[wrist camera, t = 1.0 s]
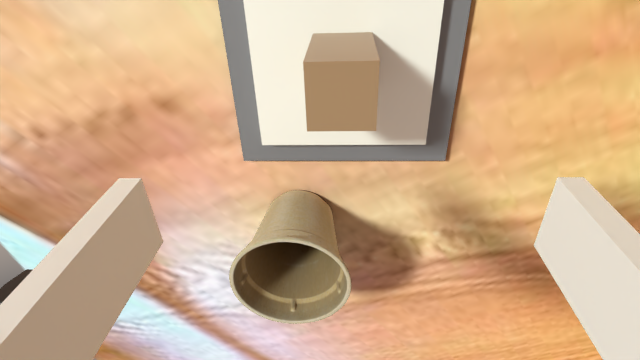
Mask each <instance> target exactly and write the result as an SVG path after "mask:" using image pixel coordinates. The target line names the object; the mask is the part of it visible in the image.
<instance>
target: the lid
mask: <svg viewBox="0 0 640 360" xmlns="http://www.w3.org/2000/svg"><path fill="white" fill-rule="evenodd" d="M243 2H244V10H245V18H246V25H247V33H248V41H249V49H250V56H251V64H252V72H253V79H254V87H255V95H256V103H257V110H258V118H259V126H260V133H261V141H262V145H426V138H427V130H428V122H429V114H430V107H431V99H432V91H433V83H434V75H435V68H436V60H437V52H438V44H439V37H440V29H441V21H442V13H443V6H444V0H243Z"/></svg>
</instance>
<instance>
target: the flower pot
mask: <svg viewBox="0 0 640 360" xmlns="http://www.w3.org/2000/svg"><path fill="white" fill-rule="evenodd" d="M229 280H230V285H231V288H232V290H233V292H234V294H235V296H236V297H237V298H238V300H239V301H240V302H241V303H242V304H243V305H244V306H245V307H247V308H248V309H249V310H251V311H252V312H254V313H255V314H257V315H259V316H262V317H264V318H266V319H269V320H272V321H277V322H282V323H289V324H294V323H295V324H297V323H310V322H315V321H319V320H322V319H325V318H326V317H329V316H331V315H333V314H334V313H335V312H337V311H338V310H339V309H340V308H341V307H342V306H343V305H344V304H345V303H346V301H347V299H348V297H349V295H350V292H351V278H350V274H349V271H348V269H347V267H346V265H345V264H344V262H343V260H342V258H341V256H340V254H339V250H338V244H337V239H336V233H335V227H334V221H333V214H332V210H331V208H330V206H329V205H328V204H327V203H326V202H325V201H324V200H322V199H321V198H320V197H319V196H318V195H316V194H314V193H311V192H308V191H302V190H295V191H289V192H285V193H283V194H282V195H280V196H279V197H278V198H276V199H275V200H274V201H273V202H272V203H271V204H270V206H269V209H268V211H267V212H266V214H265V216H264V218H263V220H262V222H261V224H260V226H259V228H258V230H257V232H256V234H255V236H254V238H253V240H252V241H251V242H250V243H249V244H248V245H247V246H246V248H244V249H243V250H242V251H241V252H240V253H239V254H238V255H237V256H236V258H235V259H234V261H233V263H232V265H231V268H230V274H229Z"/></svg>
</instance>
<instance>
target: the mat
mask: <svg viewBox="0 0 640 360" xmlns="http://www.w3.org/2000/svg"><path fill="white" fill-rule="evenodd" d="M218 4H219V10H220V16H221V22H222V28H223V34H224V41H225V47H226V53H227V59H228V65H229V71H230V78H231V84H232V90H233V96H234V102H235V108H236V115H237V121H238V127H239V133H240V139H241V145H242V152H243V158H244V161H445V159H446V152H447V146H448V140H449V134H450V128H451V122H452V116H453V110H454V104H455V97H456V91H457V85H458V79H459V73H460V67H461V61H462V55H463V49H464V43H465V36H466V30H467V24H468V18H469V12H470V6H471V0H444V6H443V13H442V21H441V29H440V37H439V44H438V52H437V60H436V68H435V75H434V83H433V91H432V99H431V107H430V114H429V122H428V130H427V138H426V145H262V141H261V133H260V126H259V118H258V110H257V103H256V95H255V87H254V79H253V72H252V64H251V56H250V49H249V41H248V33H247V25H246V18H245V10H244V2H243V0H218Z"/></svg>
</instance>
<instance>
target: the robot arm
mask: <svg viewBox="0 0 640 360" xmlns="http://www.w3.org/2000/svg"><path fill="white" fill-rule="evenodd" d="M162 243H163V239H162V236H161V234H160V231H159V228H158V225H157V222H156V219H155V216H154V213H153V210H152V207H151V204H150V202H149V199H148V196H147V193H146V190H145V187H144V184H143V181H142V178H119V179H118V180H117V181H116V182H115V183H114V184H113V185H112V186H111V187H110V188H109V190H108V191H107V192H106V193H105V194H104V195H103V196H102V197H101V198H100V199H99V200H98V201H97V202H96V203H95V204H94V205H93V207H92V208H91V209H90V210H89V211H88V212H87V213H86V214H85V215H84V216H83V217H82V218H81V219H80V220H79V221H78V222H77V224H76V225H75V226H74V227H73V228H72V229H71V230H70V231H69V232H68V233H67V234H66V235H65V236H64V237H63V238H62V240H61V241H60V242H59V243H58V244H57V245H56V246H55V247H54V248H53V249H52V250H51V251H50V252H49V253H48V254H47V255H46V257H45V258H44V259H43V260H42V261H41V262H40V263H39V264H38V265H37V266H36V267H35V268H34V269H33V270H28V269H27V270H25V271H24V272H22V273H21V274H19V275H18V276H17V277H15V278H13V279H12V280H10V281H9V282H8V283H6V284H5V285H4V286H3V287H2V288H1V289H0V360H93V358H94V356H95V355H96V353H97V351H98V350H99V348H100V346H101V345H102V343H103V341H104V340H105V338H106V336H107V335H108V333H109V331H110V330H111V328H112V326H113V325H114V323H115V321H116V320H117V318H118V316H119V315H120V313H121V311H122V310H123V308H124V306H125V305H126V303H127V301H128V300H129V298H130V296H131V295H132V293H133V291H134V290H135V288H136V286H137V285H138V283H139V281H140V280H141V278H142V276H143V275H144V273H145V271H146V270H147V268H148V266H149V265H150V263H151V261H152V260H153V258H154V256H155V255H156V253H157V251H158V250H159V248H160V246H161V245H162ZM534 247H535V248H536V250H537V252H538V253H539V255H540V257H541V258H542V260H543V261H544V263H545V265H546V266H547V268H548V270H549V271H550V273H551V275H552V276H553V278H554V280H555V281H556V283H557V285H558V286H559V288H560V290H561V291H562V293H563V294H564V296H565V298H566V299H567V301H568V303H569V304H570V306H571V308H572V309H573V311H574V313H575V314H576V316H577V318H578V319H579V321H580V322H581V324H582V326H583V327H584V329H585V331H586V332H587V334H588V336H589V337H590V339H591V341H592V342H593V344H594V346H595V347H596V349H597V351H598V352H599V354H600V355H601V357H602V359H603V360H640V234H639V233H638V232H637V231H636V230H635V229H634V228H633V227H632V226H631V225H630V224H629V223H628V222H627V221H626V220H625V219H624V218H623V217H622V216H621V215H620V214H619V213H618V211H617V210H616V209H615V208H614V207H613V206H612V205H611V204H610V203H609V202H608V201H607V200H606V199H605V198H604V197H603V196H602V195H601V194H600V193H599V192H598V191H597V190H596V189H595V188H594V187H593V186H592V185H591V184H590V183H589V182H588V181H587V180H586V179H585V178H584V177H558V178H557V181H556V183H555V186H554V189H553V192H552V195H551V198H550V201H549V203H548V206H547V209H546V212H545V215H544V218H543V221H542V224H541V226H540V229H539V232H538V235H537V238H536V241H535V244H534Z"/></svg>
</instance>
